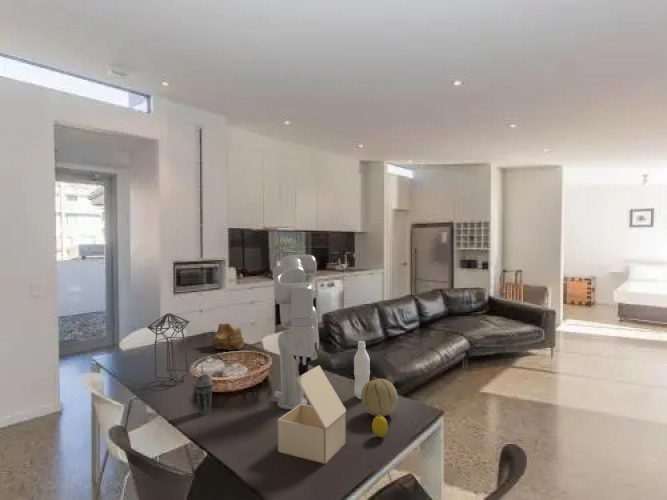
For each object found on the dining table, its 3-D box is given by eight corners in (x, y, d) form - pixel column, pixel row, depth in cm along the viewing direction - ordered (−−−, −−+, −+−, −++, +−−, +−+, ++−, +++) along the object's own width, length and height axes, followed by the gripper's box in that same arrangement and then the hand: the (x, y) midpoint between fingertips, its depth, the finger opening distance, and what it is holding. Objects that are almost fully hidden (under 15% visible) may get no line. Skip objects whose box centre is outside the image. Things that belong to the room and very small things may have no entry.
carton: (278, 452, 148) (277, 419, 147) (301, 433, 161) (300, 403, 161) (325, 463, 139) (324, 429, 139) (345, 443, 153) (345, 412, 152)
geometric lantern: (175, 389, 209) (171, 316, 208) (148, 387, 214) (144, 316, 213) (195, 379, 224) (191, 310, 223) (170, 376, 229) (166, 310, 228)
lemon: (371, 434, 160) (370, 412, 159) (386, 433, 160) (385, 411, 160) (373, 441, 154) (373, 418, 154) (389, 440, 155) (389, 418, 154)
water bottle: (369, 400, 192) (368, 343, 191) (353, 399, 193) (352, 343, 192) (371, 394, 199) (370, 339, 198) (355, 393, 200) (354, 339, 199)
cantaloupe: (393, 425, 167) (393, 386, 166) (356, 420, 172) (356, 382, 171) (401, 410, 181) (401, 374, 180) (367, 406, 186) (366, 370, 185)
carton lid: (295, 378, 143) (297, 377, 143) (318, 365, 157) (319, 365, 156) (324, 428, 139) (326, 428, 139) (345, 411, 152) (346, 410, 152)
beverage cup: (217, 410, 184) (216, 362, 183) (207, 417, 177) (205, 368, 176) (202, 408, 186) (201, 361, 185) (191, 415, 179) (190, 366, 178)
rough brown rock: (205, 349, 287) (203, 326, 286) (227, 342, 299) (226, 320, 297) (223, 357, 271) (221, 333, 269) (246, 349, 282) (244, 326, 280)
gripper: (277, 322, 150) (279, 375, 151) (315, 325, 143) (316, 381, 144) (290, 318, 157) (291, 369, 157) (327, 321, 150) (327, 374, 151)
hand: (303, 375), depth 151 cm, fingers closed
